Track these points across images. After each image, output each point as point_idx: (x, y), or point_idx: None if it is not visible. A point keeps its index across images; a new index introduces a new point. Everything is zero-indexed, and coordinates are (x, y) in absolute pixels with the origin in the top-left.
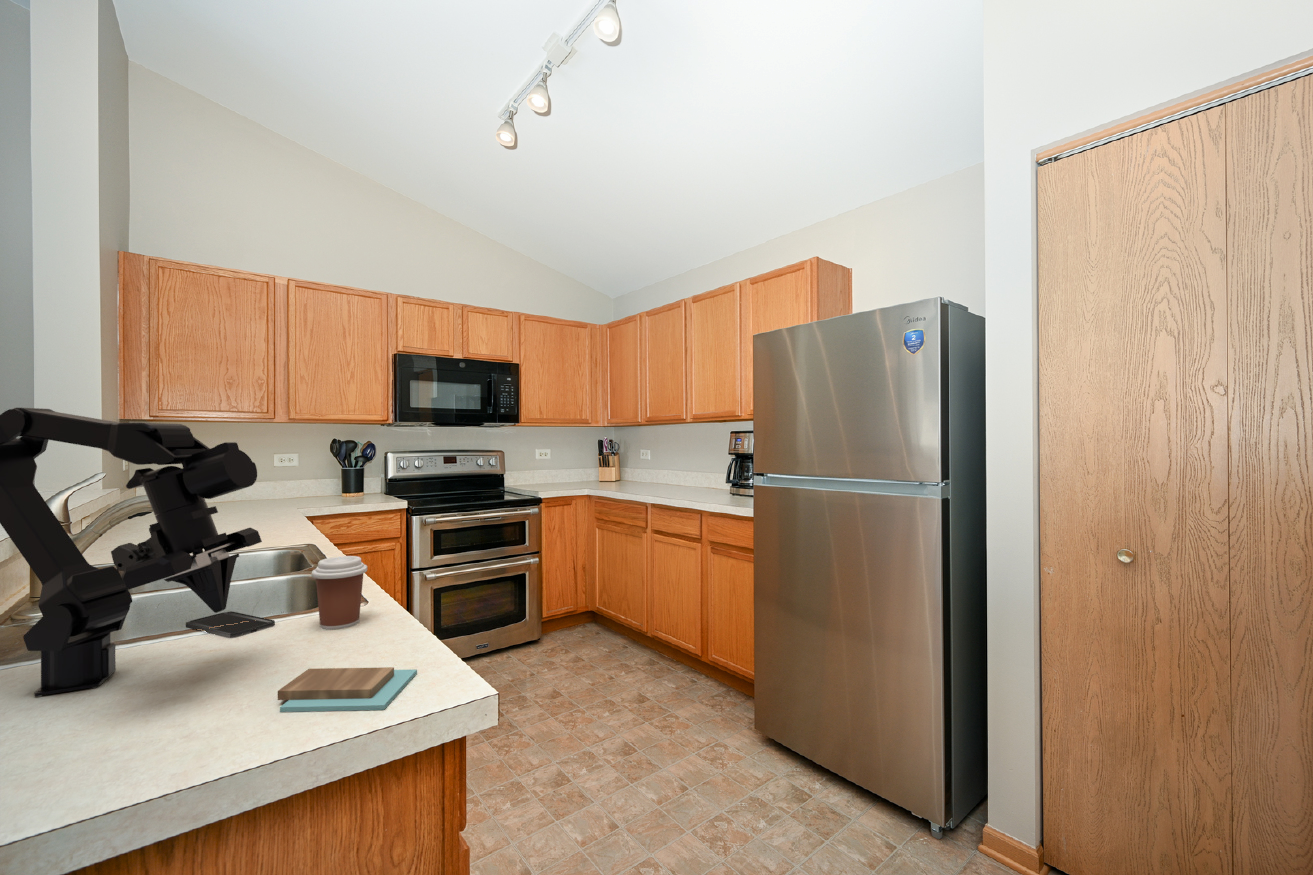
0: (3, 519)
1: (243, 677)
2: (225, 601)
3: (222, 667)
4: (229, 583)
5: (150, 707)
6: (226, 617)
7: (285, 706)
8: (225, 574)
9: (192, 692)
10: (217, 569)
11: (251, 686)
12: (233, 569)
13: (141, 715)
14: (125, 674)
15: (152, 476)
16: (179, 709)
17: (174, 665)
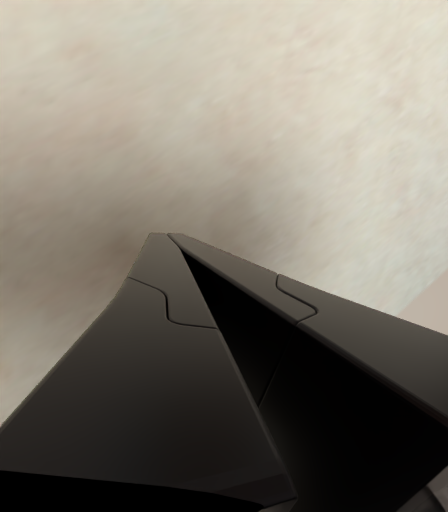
0: None
1: (115, 139)
2: (159, 243)
3: (29, 245)
4: (137, 278)
5: (258, 258)
6: None
7: None
8: (214, 324)
9: (197, 220)
10: (415, 351)
11: (183, 82)
12: (81, 338)
13: (290, 250)
14: None
15: None
16: (281, 192)
17: (9, 383)
